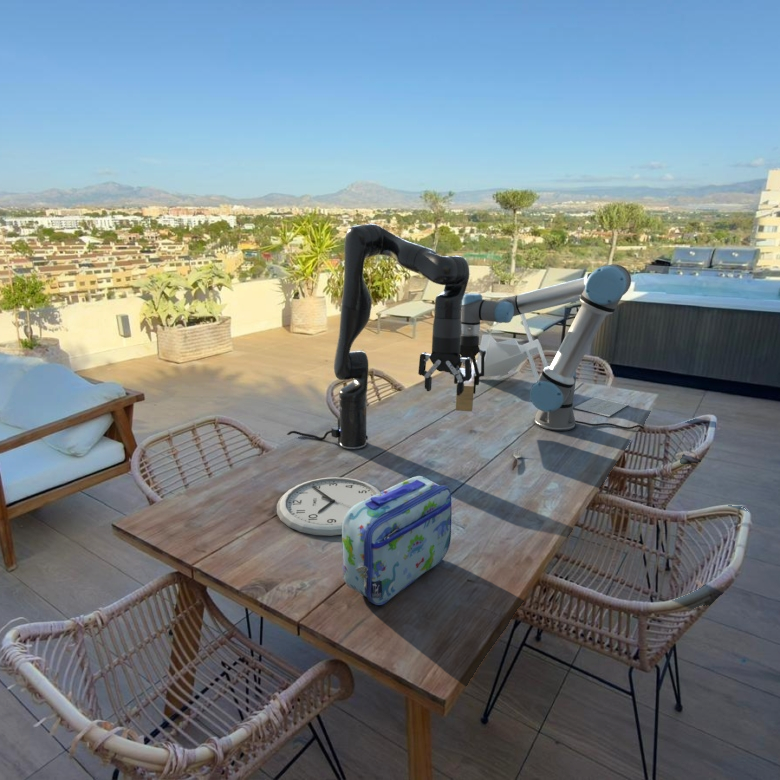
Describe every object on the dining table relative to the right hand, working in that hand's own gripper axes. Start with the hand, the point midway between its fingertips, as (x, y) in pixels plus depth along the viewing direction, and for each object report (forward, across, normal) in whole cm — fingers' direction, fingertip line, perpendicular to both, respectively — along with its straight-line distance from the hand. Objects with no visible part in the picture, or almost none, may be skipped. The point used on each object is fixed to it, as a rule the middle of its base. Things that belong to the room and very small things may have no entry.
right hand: (465, 392), depth 207 cm
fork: (+11, +18, -38) cm, 44 cm away
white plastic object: (+11, +18, +51) cm, 55 cm away
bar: (+1, 0, -9) cm, 9 cm away
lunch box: (+11, -11, -104) cm, 105 cm away
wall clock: (+11, -33, -77) cm, 84 cm away
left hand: (-19, -5, -63) cm, 66 cm away
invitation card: (+11, +58, +27) cm, 65 cm away
